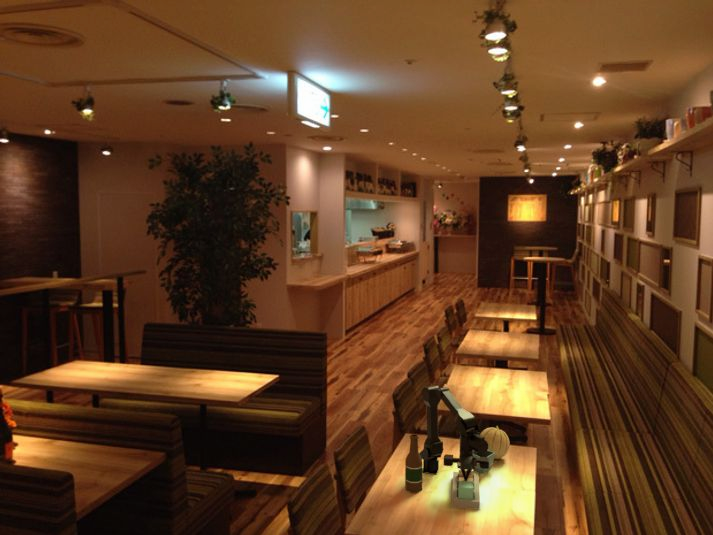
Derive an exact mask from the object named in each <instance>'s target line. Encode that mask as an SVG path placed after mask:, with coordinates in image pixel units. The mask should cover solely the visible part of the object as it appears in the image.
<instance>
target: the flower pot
mask: <svg viewBox="0 0 713 535" xmlns="http://www.w3.org/2000/svg"><path fill="white" fill-rule="evenodd" d="M494 455H495V453H494V452H491V451H488V450H487V451H486V452H485V453H484V454H480V453H478V452H476V451H474V450H473V457H475V458H477V460H479V457H488V458H489V469H483V468H481V467H480V464H477V466H475V469H473V472H474V473H477V474H479V475H480V474H481V475H484V474H487V473H488V472H490V470H491V468H492V467H493V464H494V460H495V459H494Z"/></svg>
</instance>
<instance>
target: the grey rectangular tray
mask: <svg viewBox="0 0 713 535" xmlns="http://www.w3.org/2000/svg"><path fill="white" fill-rule="evenodd" d="M479 476H480V473H478V472H473V485H474V492H473V500H468V499H458V489H459V471H453V473H452V492H451V508H460V509H469V510H470V509H471V510H472V509H473V510H474V509H475V510H480V509H481V508H480V504H481V503H480V501H481V500H480V477H479Z"/></svg>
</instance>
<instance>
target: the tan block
mask: <svg viewBox="0 0 713 535" xmlns="http://www.w3.org/2000/svg"><path fill="white" fill-rule="evenodd" d="M458 481H465V480H464V477H459V480H458ZM467 481H471V482H474V481H473V478H468V479H467Z"/></svg>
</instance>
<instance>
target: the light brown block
mask: <svg viewBox="0 0 713 535" xmlns="http://www.w3.org/2000/svg"><path fill="white" fill-rule="evenodd" d="M458 472H459V477H463V474H462V471H461V469H460V468H458ZM466 472H467V469H465V473H466ZM473 473H474V471H473V469H472V470H471V472H470V474H469V477H468V478H473Z"/></svg>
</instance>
